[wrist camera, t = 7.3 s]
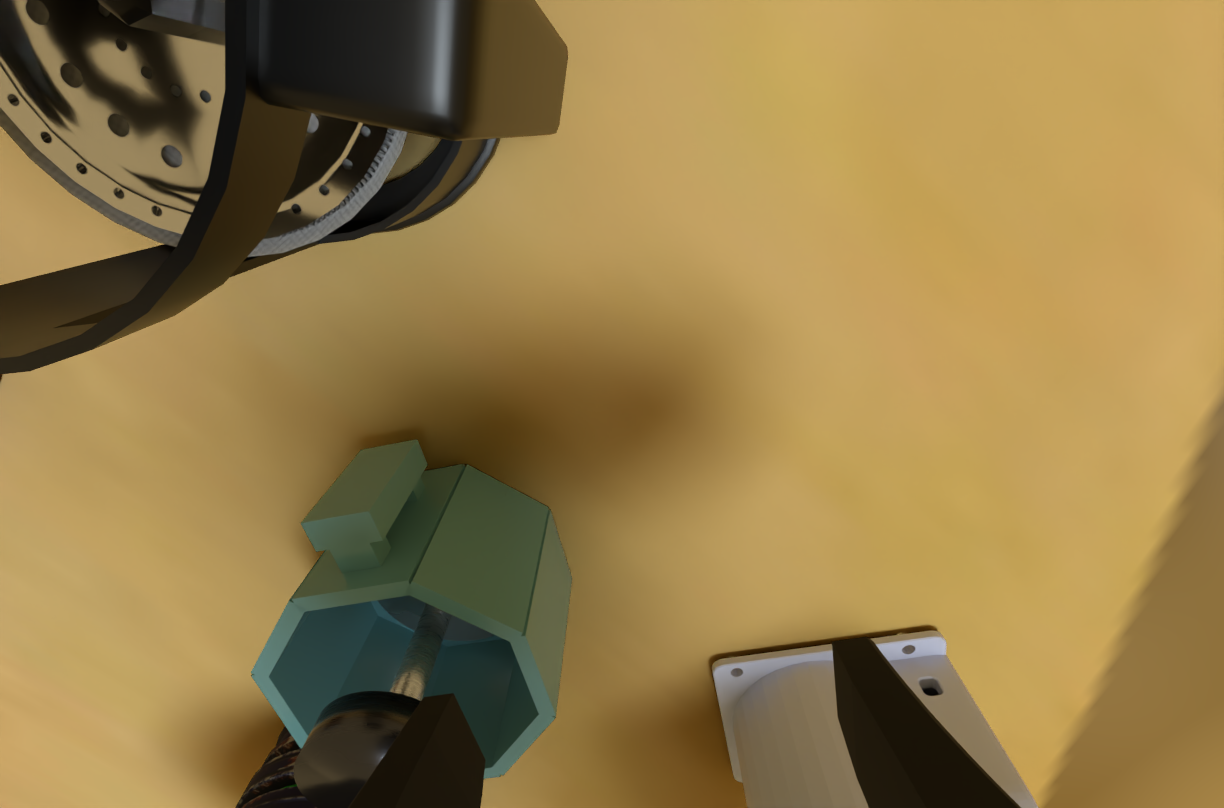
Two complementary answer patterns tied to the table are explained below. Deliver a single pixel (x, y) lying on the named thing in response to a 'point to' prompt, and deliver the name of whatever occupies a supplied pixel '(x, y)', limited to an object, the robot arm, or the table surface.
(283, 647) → the carafe
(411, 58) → the french press
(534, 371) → the table surface
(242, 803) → the storage jar
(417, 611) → the plunger
